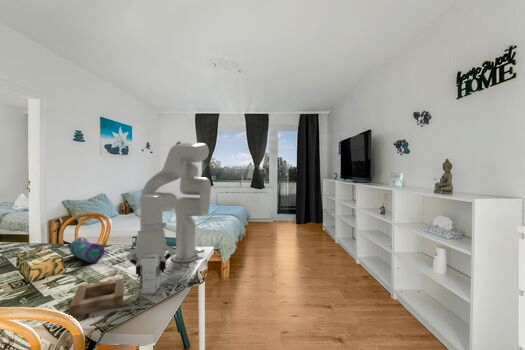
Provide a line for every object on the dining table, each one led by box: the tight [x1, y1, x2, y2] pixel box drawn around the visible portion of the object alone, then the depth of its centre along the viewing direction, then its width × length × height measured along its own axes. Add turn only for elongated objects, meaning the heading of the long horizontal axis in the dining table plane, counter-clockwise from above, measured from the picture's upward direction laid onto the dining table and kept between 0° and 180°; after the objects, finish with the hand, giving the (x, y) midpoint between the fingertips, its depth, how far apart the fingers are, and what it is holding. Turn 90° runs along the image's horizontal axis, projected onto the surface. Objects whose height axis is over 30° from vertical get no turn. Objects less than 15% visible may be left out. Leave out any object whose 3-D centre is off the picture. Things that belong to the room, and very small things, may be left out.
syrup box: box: [139, 254, 162, 295], centre depth 88 cm, size 6×6×14 cm
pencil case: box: [67, 236, 106, 264], centre depth 118 cm, size 21×9×10 cm, turn 58°
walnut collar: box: [69, 277, 125, 318], centre depth 81 cm, size 14×14×4 cm
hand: (151, 273), depth 88 cm, fingers closed on syrup box, 7 cm apart
